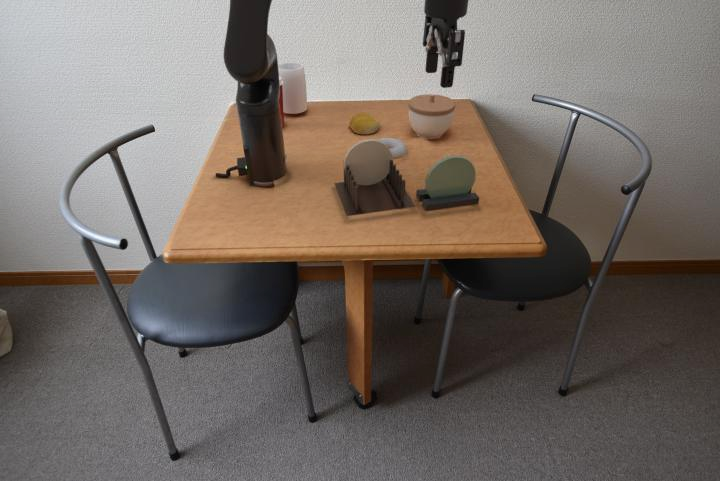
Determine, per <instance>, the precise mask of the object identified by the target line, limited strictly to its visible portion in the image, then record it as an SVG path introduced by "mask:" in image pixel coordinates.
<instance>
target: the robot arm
mask: <svg viewBox="0 0 720 481" xmlns="http://www.w3.org/2000/svg"><path fill="white" fill-rule="evenodd" d="M272 3H273V0H229V12H228V20H227V27H226V28H227V29H226V34H225V40H224V46H223V64H224V66H225V68H226V70H227V72H228V74H229V75H230V77H231V78H232V79H234V81H236V82H237V89H236V94H235V105H236V106H235V107H236V111H237V117H238V123H239V129H240V135H241V140H242V148H243V149H242V150H243V155H244V156H243V157H236V165H234V166H230V167H228V168H227V169H225V173H221V172H216V173H215V177H216V178H225V179H227V178H229V177H231V175H232V173H231V172H233V171H237V174H238V177H245V176H247V179H248V184H249V186H256V187H266V188H267V187H274V186H275V181H278V180H280V179H282V178H284V177H285V176H286V175H287V173H288V166H287V155H286V150H285V142H284V140H285V139H284V133H283V132H284V131H283V128H282V123H281V114H280V105H279V94H280V83H279V71H278V65H279V61H278V60H279V59H278V54H277V49H276V45H275V43H274V41H273V38H272V36H270V35H269V34H268V29H269V28H268V27H269V26H268V25H269V16H270V11H271V6H272ZM468 6H469V0H424V7H423V8H424V10H423V13H424V15H425V18H424V28H423V37H422V46H423V47H425V48H424V50H425V53H426V58H425V69H424V72H426V73H427V74H435V73H437V71H438V65H439V57H441V64H442V66H441V73H440V83H439V85H440V87H441V88H443V89H447V88H452V87H453V85H454V78H455V69H456V67H461V66H462V64H463V57H464V56H463V55H464V47H465V39H466V38H465V37H466V31H465V29H458V20H459V19H460V18H465V16H467V13H468Z"/></svg>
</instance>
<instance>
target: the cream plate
mask: <svg viewBox="0 0 720 481" xmlns="http://www.w3.org/2000/svg"><path fill="white" fill-rule="evenodd" d="M390 149H391V148H388V146H387V145H386V144H385V143H383V142H381V141H379V140H377V139H376V138H365V139H361V140H359V141H357V142H355V143H354V144H353V145H351V147H350V148H349V149H348V150H347V152H346V154H345V156H344V159H343V161H344V166H343V171H344V170H345V172H346V165H349V170H351V175H353V176H354V180H356V184H359V185H365V186H366V185H373V184H376V183H378V182H380V181H381V180H383V179H384V178H385V177H386V176H387V175H388V173H389V170H390V160H393V161H394V159H393V157H392V153H391V151H390Z"/></svg>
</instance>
